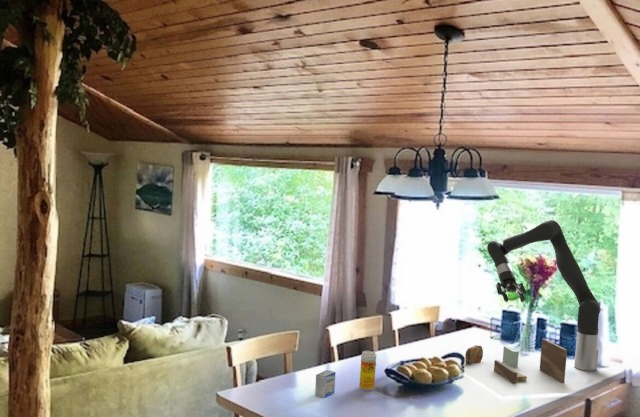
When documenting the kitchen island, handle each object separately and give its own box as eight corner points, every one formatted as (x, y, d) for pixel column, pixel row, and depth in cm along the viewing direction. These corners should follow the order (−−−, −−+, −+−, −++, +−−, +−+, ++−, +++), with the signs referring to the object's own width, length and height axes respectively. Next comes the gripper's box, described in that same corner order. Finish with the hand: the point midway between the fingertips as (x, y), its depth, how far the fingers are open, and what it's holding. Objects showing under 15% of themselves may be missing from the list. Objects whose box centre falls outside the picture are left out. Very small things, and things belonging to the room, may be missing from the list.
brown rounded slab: (469, 368, 312) (470, 350, 312) (463, 366, 314) (464, 348, 314) (482, 361, 324) (484, 344, 324) (476, 360, 326) (478, 343, 326)
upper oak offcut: (510, 372, 305) (510, 368, 304) (526, 380, 293) (526, 376, 293) (500, 372, 303) (501, 368, 303) (516, 381, 292) (516, 376, 291)
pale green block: (508, 362, 324) (509, 346, 323) (517, 368, 315) (518, 351, 314) (502, 362, 323) (503, 346, 323) (511, 368, 314) (513, 351, 314)
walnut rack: (542, 372, 312) (545, 338, 311) (564, 385, 294) (567, 349, 293) (493, 373, 306) (496, 338, 305) (512, 386, 289) (515, 349, 288)
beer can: (364, 391, 271) (366, 355, 270) (356, 386, 276) (358, 351, 275) (377, 390, 274) (379, 353, 273) (369, 385, 279) (371, 349, 278)
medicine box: (324, 398, 261) (325, 376, 260) (314, 395, 263) (315, 374, 262) (334, 393, 267) (336, 371, 267) (325, 390, 270) (326, 369, 269)
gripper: (495, 269, 337) (504, 296, 327) (521, 270, 340) (531, 297, 330) (490, 278, 343) (498, 305, 332) (515, 278, 346) (525, 305, 335)
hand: (515, 301), depth 331 cm, fingers open, 8 cm apart
